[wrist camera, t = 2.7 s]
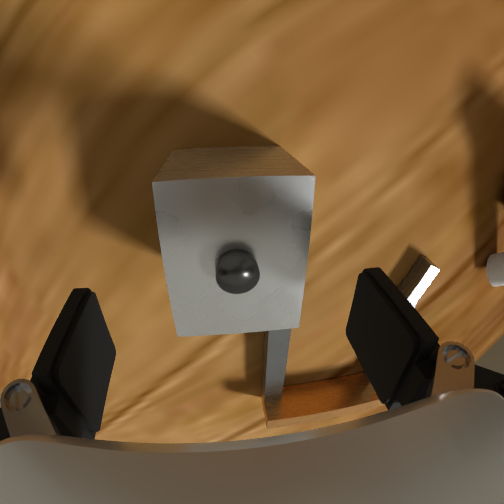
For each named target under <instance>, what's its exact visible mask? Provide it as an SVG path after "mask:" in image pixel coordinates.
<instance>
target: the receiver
mask: <svg viewBox="0 0 504 504" xmlns="http://www.w3.org/2000/svg"><path fill="white" fill-rule="evenodd" d="M438 272H439V269H438V268H437V267H436V266H435V265H434V264H433V263H432V262H431V261H430V260H429V259H428V258H426V257H424V256H422V255H420V256H419V258H418V259H417V261H416V262H415V264H414V265H413V267H412V268H411V270H410V271H409V273H408V274H407V276H406V277H405V278H404V280H403V281H402V283H401V284H400V285H399V287H398V289H399V290H400V291H401V293H402V294H403V295H404V296H405V297H406V298H407V300H408V301H409V302H410V303H411V304H412V306H413V307H414V308H415V306H416V303H417V301H418V300H419V298H420V297H421V296H422V294H423V293H424V292H425V290H426V289H427V287H428V286H429V285H430V283H431V282H432V281H433V279H434V278H435V276H436V275H437V273H438ZM290 333H291V329H281V330H271V331H265V332H264V354H263V375H262V394H261V398H262V404H263V410H264V415H265V421H266V426H267V428H275V427H283V426H290V425H296V424H302V423H308V422H313V421H319V420H324V419H329V418H334V417H338V416H343V415H347V414H351V413H355V412H359V411H363V410H367V409H371V408H374V407H378V406H382V405H384V404H382V403H381V402H380V400H379V398H378V396H377V394H376V392H375V390H374V388H373V386H372V384H371V382H370V380H369V378H368V376H367V374H366V372H365V371H364V372H363V373H359V374H354V375H349V376H344V377H339V378H334V379H328V380H323V381H317V382H310V383H304V384H297V385H290V386H283V385H284V378H285V371H286V363H287V356H288V348H289V341H290Z"/></svg>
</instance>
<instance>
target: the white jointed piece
mask: <svg viewBox="0 0 504 504" xmlns="http://www.w3.org/2000/svg"><path fill="white" fill-rule="evenodd" d="M503 209H504V208H503ZM487 277H488V280H489V282H490V284H491V285H492V286H504V252H501V253H496V254H491V255H490V256H489V258H488V260H487Z"/></svg>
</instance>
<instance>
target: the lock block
mask: <svg viewBox="0 0 504 504" xmlns="http://www.w3.org/2000/svg"><path fill="white" fill-rule="evenodd" d="M314 187H315V175H314V174H313V173H312V172H310V171H309V170H308V169H307V168H306V167H305V166H303V165H302V164H301V163H300V162H299V161H298V160H296V159H295V158H294V157H293V156H292V155H290V154H289V153H288V152H287V151H286V150H284V149H283V148H282V147H281V146H227V147H206V148H190V149H176V150H173V151H172V153H171V154H170V155H169V157H168V158H167V160H166V161H165V163H164V164H163V166H162V167H161V169H160V170H159V172H158V173H157V175H156V177H155V178H154V180H153V181H152V188H153V197H154V205H155V213H156V220H157V227H158V234H159V241H160V247H161V254H162V260H163V266H164V271H165V277H166V282H167V288H168V293H169V298H170V303H171V308H172V313H173V318H174V323H175V327H176V332H177V336H201V335H219V334H235V333H248V332H260V331H271V330H281V329H291V328H299V322H300V315H301V307H302V300H303V292H304V284H305V276H306V268H307V259H308V250H309V241H310V231H311V221H312V210H313V199H314Z"/></svg>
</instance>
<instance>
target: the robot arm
mask: <svg viewBox="0 0 504 504" xmlns="http://www.w3.org/2000/svg"><path fill="white" fill-rule="evenodd" d="M346 335H347V338H348V340H349V342H350V344H351V346H352V347H353V349H354V351H355V353H356V355H357V357H358V359H359V361H360V363H361V365H362V367H363V369H364V371H365V372H366V374H367V376H368V378H369V380H370V382H371V384H372V386H373V388H374V390H375V392H376V394H377V396H378V398H379V400H380V402H381V403H382V404H385V405H386V407H387V409H388V411H385V412H381V413H378V414H375V415H371V416H368V417H364V418H360V419H357V420H353V421H349V422H345V423H341V424H337V425H332V426H328V427H323V428H318V429H313V430H308V431H303V432H298V433H292V434H286V435H279V436H272V437H265V438H257V439H248V440H238V441H227V442H211V443H184V444H159V443H133V442H118V441H105V440H95V433H96V432H98V431H99V430H100V427H101V421H102V416H103V411H104V406H105V401H106V396H107V391H108V386H109V382H110V378H111V373H112V369H113V365H114V361H115V356H116V350H115V346H114V343H113V341H112V338H111V336H110V333H109V330H108V328H107V325H106V322H105V320H104V317H103V314H102V311H101V308H100V305H99V302H98V299H97V296H96V294H95V293H94V292H91V290H90V289H89V288H75V289H73V291H72V292H71V294H70V296H69V298H68V299H67V301H66V303H65V305H64V307H63V309H62V311H61V313H60V314H59V316H58V318H57V320H56V322H55V324H54V326H53V328H52V330H51V332H50V334H49V336H48V338H47V340H46V343H45V345H44V347H43V349H42V351H41V353H40V356H39V358H38V360H37V362H36V365H35V367H34V369H33V371H32V378H31V380H30V381H29V380H27V379H17V380H14V381H12V382H11V383H9V384H8V385H7V386H6V387H5V388H4V390H3V392H2V394H1V398H0V403H1V408H0V504H504V375H503V374H500V373H497V372H494V371H492V370H489V369H486V368H483V367H480V366H477V365H475V361H474V356H473V354H472V353H471V351H470V350H469V349H468V348H467V347H466V346H464V345H463V344H460V343H458V342H453V341H451V342H445V343H443V344H442V345H441V346H440V345H439V344H438V343H437V342H438V340H439V338H438V337H437V335H436V334H435V333H434V332H433V330H432V329H431V328H430V326H429V325H428V324H427V323H426V321H425V320H424V319H423V318H422V317H421V315H420V314H419V313H418V312H417V310H416V309H415V308H414V307H413V306H412V304H411V303H410V302H409V301H408V300H407V298H406V297H405V296H404V295H403V294H402V293H401V291H400V290H399V289H398V288H397V287H396V286H395V284H394V283H393V282H392V281H391V280H390V279H389V277H388V276H387V275H386V274H385V273H384V272H383V271H382V270H381V269H380V268H378V267H377V268H367V269H364V270H363V272H362V273H360V274H359V276H358V280H357V285H356V289H355V294H354V298H353V302H352V307H351V311H350V315H349V319H348V323H347V327H346ZM86 438H87V439H86Z"/></svg>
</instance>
